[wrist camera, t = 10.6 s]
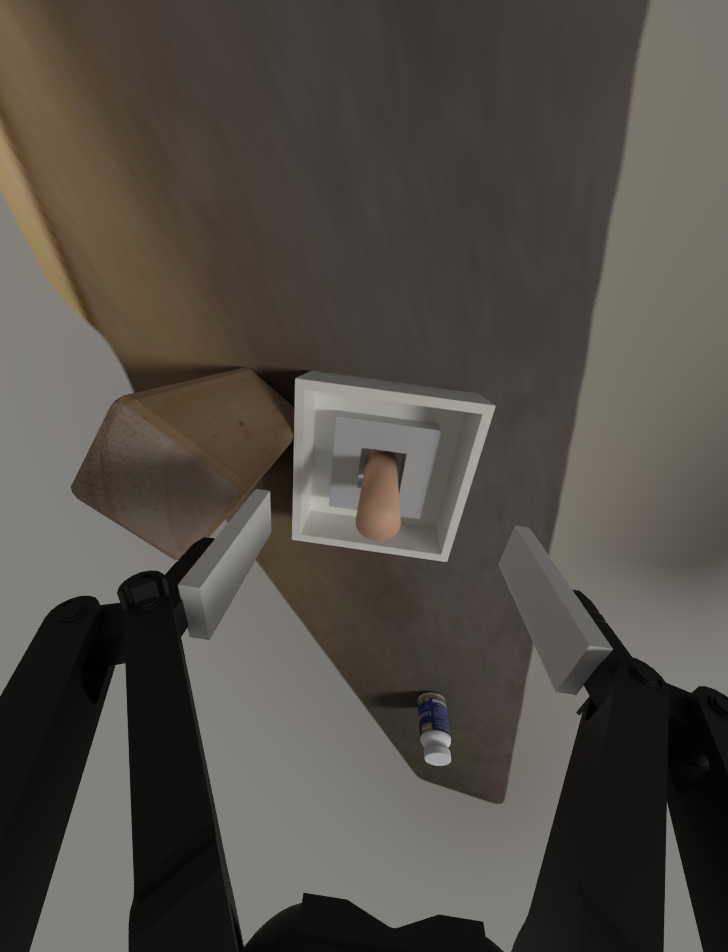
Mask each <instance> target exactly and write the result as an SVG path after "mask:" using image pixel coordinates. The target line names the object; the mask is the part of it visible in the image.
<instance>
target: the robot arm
mask: <svg viewBox="0 0 728 952" xmlns="http://www.w3.org/2000/svg"><path fill="white" fill-rule="evenodd" d="M270 533H271V507H270V491H267V490H260V489H255V491H254V492H253V493H252V494H251V496H250V497H249V498H248V499H247V500H246V502H245V503H244V504H243V505H242V507H241V508H240V509H239V510H238V511H237V513H236V514H235V515H234V516H233V518H232V519H231V520H230V521H229V523H228V524H227V525H226V526H225V528H224V529H223V530H222V531H221V532H220V534H219V535H218V536H217V537H216V538H215V539H214V538H207V537H203V538H202V539H200V540H198V541H197V542H195V543H193V544H192V545H191V546H190V548H189V549H188V550H187V551H186V552H185V554H183V555H182V556H181V558H180V559H179V561H178V562H176V563H175V564H174V565H173V566H172V568H171V569H170V570H169V571H168V572H167V573H166V574H165V575H164V574H163V573H161V572H159V571H145V572H141V573H138V574H135V575H133V576H131V577H130V578H128V579H127V580H125V581H124V582H123V583H122V584H121V585H120V587H119V589H118V592H117V594H118V597H119V600H120V603H114V604H106V605H100V604H99V602H98V600H97V599H96V598H95V597H92V596H79V597H76V598H72V599H69V600H67V601H65V602H63V603H61V604H59V605H58V606H56V607H55V608H54V609H52V610H51V611H50V612H49V614H48V615H47V616H46V617H45V619H44V621H43V622H42V624H41V626H40V628H39V629H38V631H37V633H36V635H35V636H34V638H33V640H32V642H31V643H30V645H29V647H28V649H27V650H26V652H25V654H24V656H23V657H22V659H21V661H20V663H19V664H18V666H17V668H16V670H15V671H14V673H13V675H12V677H11V678H10V680H9V682H8V684H7V686H6V687H5V689H4V691H3V693H2V694H1V696H0V952H29V951H30V947H31V944H32V941H33V937H34V934H35V930H36V927H37V924H38V920H39V917H40V914H41V911H42V907H43V904H44V901H45V897H46V894H47V891H48V887H49V884H50V881H51V877H52V874H53V871H54V868H55V864H56V861H57V858H58V854H59V851H60V847H61V844H62V841H63V838H64V834H65V831H66V827H67V824H68V821H69V817H70V814H71V811H72V808H73V804H74V801H75V798H76V794H77V791H78V788H79V784H80V781H81V778H82V774H83V771H84V768H85V765H86V761H87V758H88V754H89V751H90V748H91V745H92V741H93V738H94V735H95V731H96V728H97V725H98V721H99V718H100V715H101V711H102V708H103V705H104V701H105V698H106V695H107V691H108V688H109V685H110V681H111V678H112V675H113V671H114V668H115V665H117V664H123V663H126V689H127V713H128V739H129V765H130V790H131V816H132V842H133V867H134V899H133V903H132V906H131V910H130V917H129V952H503V951H502V950H501V949H500V948H499V947H498V946H497V945H496V944H495V943H493V942H492V941H491V940H490V939H488V938H487V937H485V930H484V924H483V922H481V921H475V920H469V919H462V918H456V917H451V916H444V915H436V916H433V917H430V918H427V919H424V920H421V921H418V922H415V923H412V924H409V925H405V926H402V927H399V928H391V927H389V926H387V925H385V924H384V923H382V922H381V921H379V920H378V919H376V918H375V917H373V916H371V915H370V914H368V913H367V912H365V911H364V910H362V909H361V908H359V907H357V906H356V905H354V904H353V903H351V902H350V901H348V900H345V899H339V898H332V897H327V896H321V895H314V894H308V893H304V894H303V899H302V903H300V904H297V905H294V906H290V907H289V908H287V909H285V910H283V911H281V912H279V913H278V914H277V915H275V916H274V917H272V918H271V919H270V920H268V921H267V922H266V923H265V924H264V925H263V926H262V927H261V928H260V929H259V930H258V931H257V932H256V933H255V934H254V935H253V937H252V938H251V939H250V940H249V941H248V943H247V944H246V945H245V946H244V945H243V940H242V935H241V930H240V925H239V920H238V916H237V910H236V905H235V901H234V896H233V891H232V887H231V882H230V878H229V874H228V869H227V864H226V860H225V854H224V849H223V845H222V839H221V834H220V829H219V825H218V819H217V814H216V810H215V804H214V799H213V794H212V789H211V785H210V779H209V775H208V769H207V765H206V760H205V755H204V750H203V745H202V740H201V735H200V730H199V725H198V720H197V715H196V710H195V705H194V700H193V695H192V690H191V685H190V680H189V675H188V670H187V665H186V660H185V655H184V650H183V645H182V640H181V636H182V635H183V633H184V632H185V630H186V629H187V627H188V631H189V636H190V637H194V638H200V639H207V640H210V638H211V637H212V635H213V633H214V631H215V630H216V628H217V626H218V624H219V623H220V621H221V619H222V617H223V616H224V614H225V612H226V610H227V609H228V607H229V605H230V603H231V602H232V600H233V598H234V596H235V595H236V593H237V591H238V589H239V587H240V586H241V584H242V582H243V580H244V579H245V577H246V575H247V574H248V572H249V570H250V568H251V567H252V565H253V563H254V561H255V560H256V558H257V556H258V554H259V553H260V551H261V549H262V547H263V546H264V544H265V542H266V540H267V539H268V537H269V535H270ZM498 565H499V568H500V570H501V572H502V574H503V576H504V579H505V581H506V583H507V585H508V587H509V590H510V592H511V594H512V596H513V598H514V601H515V603H516V605H517V607H518V610H519V612H520V614H521V616H522V618H523V621H524V623H525V625H526V627H527V629H528V632H529V634H530V636H531V638H532V641H533V643H534V645H535V647H536V649H537V652H538V654H539V656H540V658H541V660H542V663H543V665H544V667H545V669H546V671H547V674H548V676H549V678H550V680H551V682H552V685H553V687H554V689H555V691H556V692H561V693H568V694H574V695H576V694H577V693H578V692H579V691H580V690H581V688H582V687H583V686H585V688H586V690H587V692H588V694H589V698H588V699H587V700H586V701H585V703H584V704H583V705H582V706H581V707H580V708H579V710H578V711H577V714H578V715H580V714H581V713H582V712H583V713H582V717H581V720H580V724H579V728H578V731H577V735H576V739H575V743H574V746H573V750H572V754H571V758H570V761H569V765H568V769H567V772H566V776H565V780H564V784H563V787H562V791H561V795H560V799H559V802H558V806H557V810H556V814H555V817H554V821H553V825H552V829H551V832H550V836H549V840H548V844H547V847H546V851H545V854H544V858H543V863H542V866H541V869H540V873H539V877H538V881H537V885H536V888H535V892H534V896H533V899H532V903H531V907H530V910H529V913H528V916H527V918H526V921H525V923H524V924H523V926H522V928H521V930H520V931H519V933H518V935H517V938H516V940H515V943H514V945H513V948H512V951H511V952H663V948H664V903H665V856H666V812H667V803H668V807H669V811H670V816H671V820H672V824H673V828H674V832H675V836H676V841H677V845H678V849H679V853H680V857H681V861H682V865H683V870H684V874H685V878H686V882H687V886H688V890H689V894H690V899H691V902H692V907H693V911H694V915H695V919H696V923H697V927H698V932H699V936H700V940H701V944H702V948H703V952H728V697H727V696H725V695H724V694H722V693H720V692H718V691H717V690H714V689H712V688H709V687H706V686H699V687H698V688H697V689H696V690H694V691H693V692H692V693H690V692H687V691H685V690H682V689H680V688H678V687H675V686H673V685H670V684H668V683H666V682H665V681H664V680H663V678H662V677H661V676H660V675H659V674H658V673H657V672H656V671H655V670H654V669H653V668H652V667H650V666H649V665H647V664H646V663H644V662H642V661H640V660H638V659H636V658H633V657H632V656H631V655H630V654H629V652H628V651H627V649H626V648H625V647H624V645H623V644H622V643H621V641H620V640H619V639H618V637H617V636H616V635H615V633H614V632H613V630H612V629H611V628H610V626H609V625H608V624H607V623H606V621H605V619H604V618H603V617H602V615H601V614H599V611H598V610H597V608H596V607H595V606H594V604H593V603H592V602H591V600H589V599H588V598H587V597H586V596H585V595H584V594H583V593H581V592H580V591H578V590H572V589H571V587H570V586H569V584H568V583H567V581H566V580H565V579H564V577H563V576H562V574H561V573H560V571H559V570H558V569H557V567H556V566H555V564H554V563H553V561H552V560H551V558H550V557H549V555H548V554H547V552H546V551H545V550H544V548H543V547H542V545H541V544H540V542H539V541H538V539H537V538H536V536H535V535H534V534H533V532H532V531H531V529H530V528H527V527H520V526H515V527H514V529H513V532H512V534H511V536H510V539H509V541H508V543H507V546H506V548H505V550H504V553H503V555H502V557H501V560H500V562H499V564H498Z"/></svg>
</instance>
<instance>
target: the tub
mask: <svg viewBox="0 0 728 952" xmlns="http://www.w3.org/2000/svg"><path fill="white" fill-rule="evenodd" d="M494 410H495V405H494V404H492V403H491V402H489V401H488V400H486V399H485V398H483V397H482V396H480V395H479V394H477V393H473V392H465V391H458V390H451V389H443V388H436V387H429V386H421V385H414V384H407V383H399V382H392V381H384V380H377V379H370V378H362V377H355V376H348V375H340V374H333V373H326V372H318V371H309V372H307V373H305V374H303V375H301V376H299V377H297V378H295V412H294V464H293V516H292V540H298V541H305V542H312V543H319V544H326V545H333V546H340V547H347V548H354V549H361V550H367V551H374V552H381V553H388V554H395V555H402V556H409V557H416V558H423V559H430V560H437V561H444V562H447V560H448V557H449V554H450V551H451V548H452V544H453V541H454V538H455V535H456V532H457V528H458V525H459V522H460V519H461V515H462V512H463V509H464V506H465V503H466V499H467V496H468V493H469V490H470V487H471V483H472V480H473V477H474V474H475V471H476V467H477V464H478V461H479V458H480V455H481V451H482V448H483V445H484V442H485V438H486V435H487V432H488V429H489V426H490V422H491V419H492V416H493V413H494ZM373 449H376V450H383V451H390V452H393V453H394V455H395V456H396V460H397V475H398V490H399V505H400V520H401V524H400V529H399V531H398V532H397V533H396V535H394V536H393V537H392V538H390V539H388V540H384V541H373V540H370V539H367V538H366V537H364V536H363V535H361V534H360V532H359V531H358V529H357V527H356V515H357V509H358V503H359V498H360V492H361V486H362V480H363V475H364V469H365V463H366V458H367V456H368V454H369V453H370V452H371V451H372V450H373Z"/></svg>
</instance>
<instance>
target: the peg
mask: <svg viewBox="0 0 728 952" xmlns="http://www.w3.org/2000/svg"><path fill="white" fill-rule="evenodd" d="M400 524H401V520H400V505H399V490H398V475H397V460H396V456H395V455H394V453H393V452H390V451H383V450H376V449H373V450H372V451H371V452H370V453H369V454H368V456H367V458H366V463H365V469H364V475H363V480H362V486H361V492H360V498H359V503H358V509H357V515H356V527H357V529H358V531H359V532H360V534H361V535H363V536H364V537H366V538H367V539H370V540H373V541H384V540H388V539H390V538H392V537H393V536H394V535H396V533H397V532H398V531H399V529H400Z"/></svg>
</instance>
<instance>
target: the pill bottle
mask: <svg viewBox="0 0 728 952" xmlns="http://www.w3.org/2000/svg"><path fill="white" fill-rule="evenodd" d="M418 714H419V728H420V740H421V743H422V745H423V746H424V747H425V749H424V758H425V761H426V762H427V763H429V764H432V765H436V766H443V765H447V764H449V763H450V762H451V755H450V751H449V749H448V747H449V746H450V744H451V736H450V729H449V722H448V716H447V708H446V702H445V699H444V697H443V696H442V695H440V694H438V693H434V692H427V693H423V694H421V695H420V696H419V698H418Z"/></svg>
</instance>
